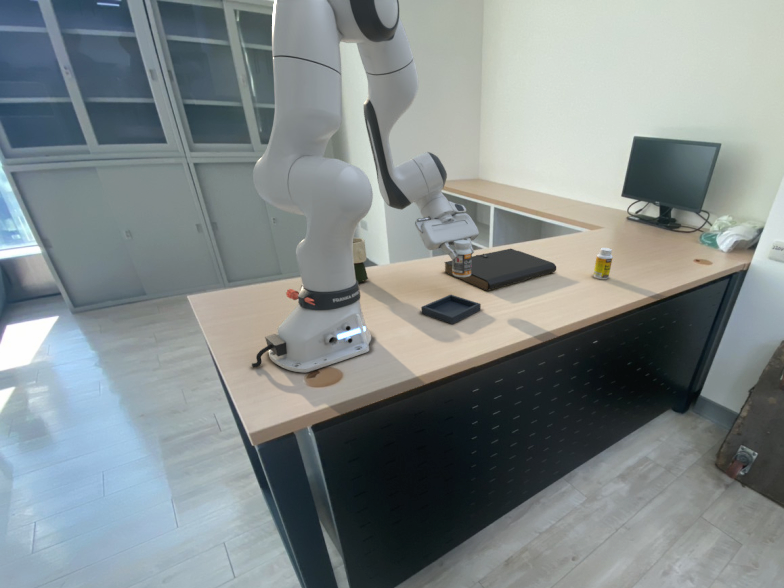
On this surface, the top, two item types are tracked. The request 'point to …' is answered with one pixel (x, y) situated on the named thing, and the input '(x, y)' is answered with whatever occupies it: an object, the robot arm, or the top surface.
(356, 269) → the character mug
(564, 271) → the top surface
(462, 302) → the tray
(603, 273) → the supplement bottle
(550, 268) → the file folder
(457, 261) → the pill bottle
